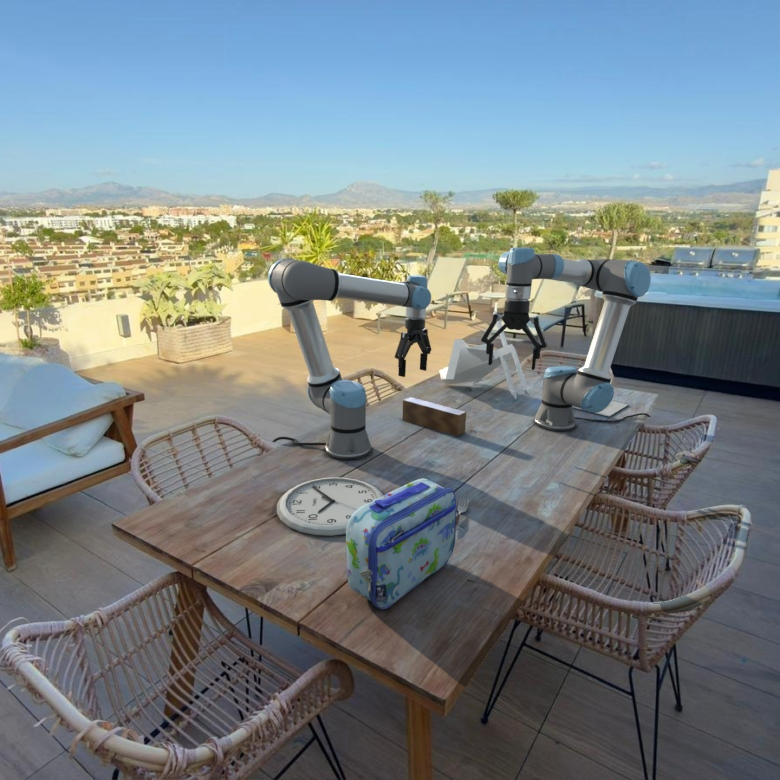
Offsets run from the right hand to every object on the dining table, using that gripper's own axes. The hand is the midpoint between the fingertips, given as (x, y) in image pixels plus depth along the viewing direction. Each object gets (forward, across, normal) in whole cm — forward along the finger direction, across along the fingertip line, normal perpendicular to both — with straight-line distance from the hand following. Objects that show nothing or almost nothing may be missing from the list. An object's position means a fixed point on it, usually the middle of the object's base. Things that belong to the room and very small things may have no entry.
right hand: (511, 366), depth 167 cm
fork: (+31, -4, -45) cm, 55 cm away
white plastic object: (+31, -23, +66) cm, 77 cm away
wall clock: (+31, -37, -52) cm, 71 cm away
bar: (+31, -30, +16) cm, 46 cm away
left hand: (+12, -40, +19) cm, 45 cm away
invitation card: (+31, +30, +68) cm, 81 cm away
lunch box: (+31, -8, -75) cm, 81 cm away
